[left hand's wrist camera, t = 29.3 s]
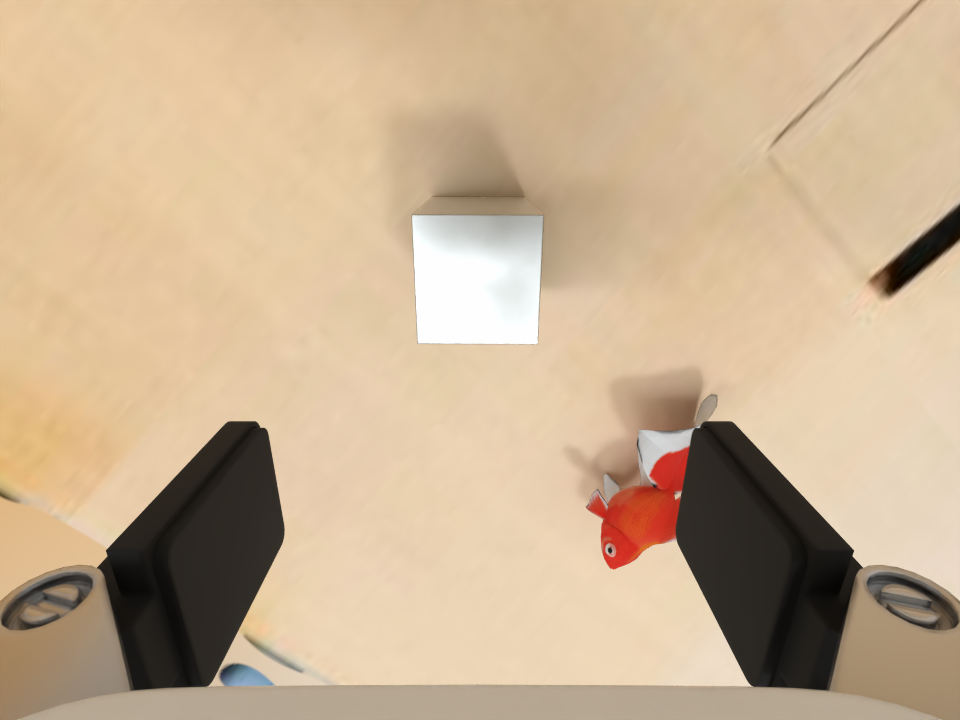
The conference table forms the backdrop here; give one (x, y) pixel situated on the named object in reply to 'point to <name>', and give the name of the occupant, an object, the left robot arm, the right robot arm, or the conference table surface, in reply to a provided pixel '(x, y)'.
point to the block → (477, 270)
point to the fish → (647, 494)
